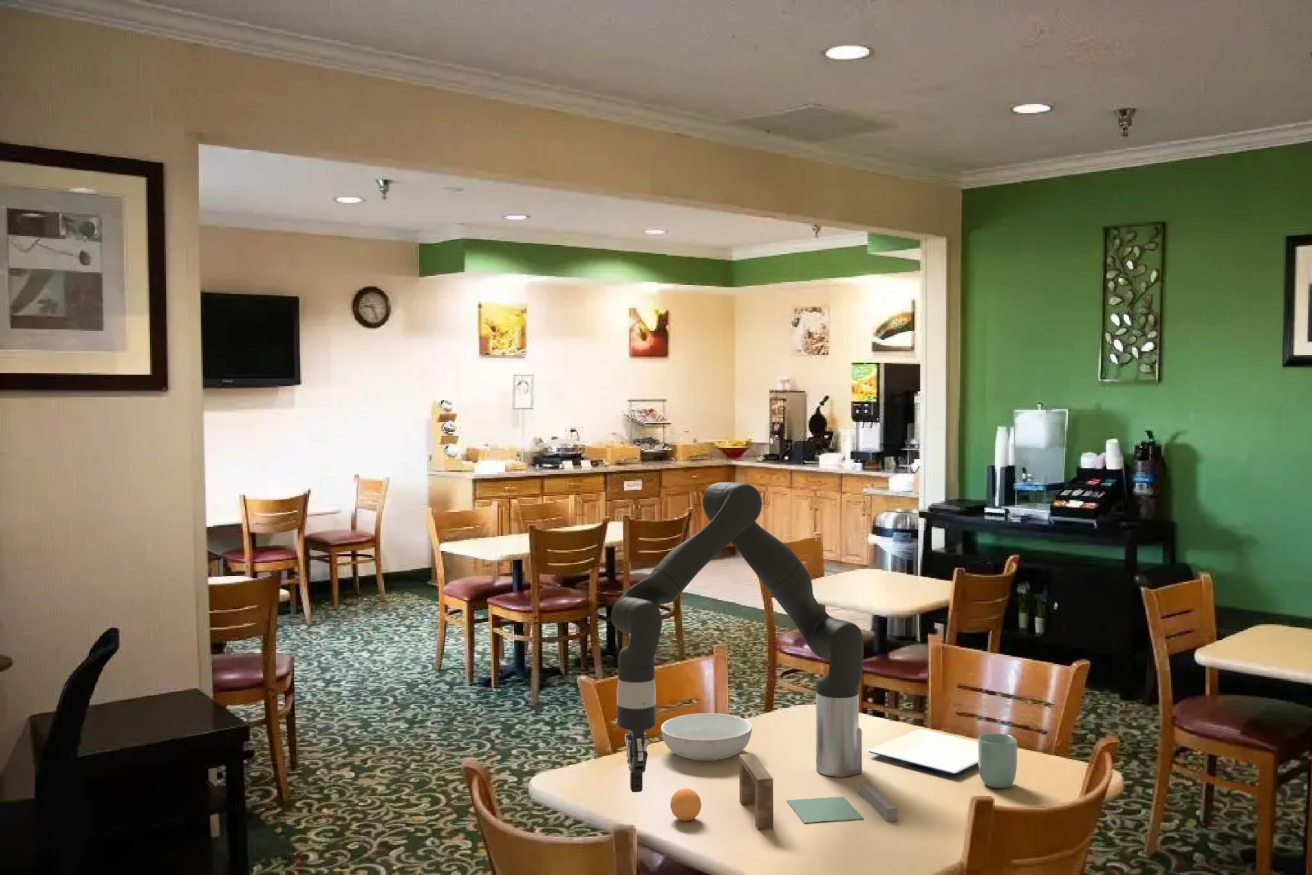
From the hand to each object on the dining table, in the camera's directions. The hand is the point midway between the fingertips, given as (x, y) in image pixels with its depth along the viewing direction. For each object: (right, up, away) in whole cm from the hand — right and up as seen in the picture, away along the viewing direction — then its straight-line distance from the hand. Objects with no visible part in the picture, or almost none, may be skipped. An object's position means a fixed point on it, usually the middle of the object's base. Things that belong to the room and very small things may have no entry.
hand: (636, 790), depth 214 cm
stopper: (+48, -6, +8) cm, 49 cm away
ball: (+10, -3, +2) cm, 10 cm away
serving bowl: (+15, -5, +41) cm, 44 cm away
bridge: (+23, -6, +4) cm, 25 cm away
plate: (+68, -5, +39) cm, 78 cm away
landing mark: (+37, -6, +6) cm, 38 cm away
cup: (+76, -5, +20) cm, 78 cm away
